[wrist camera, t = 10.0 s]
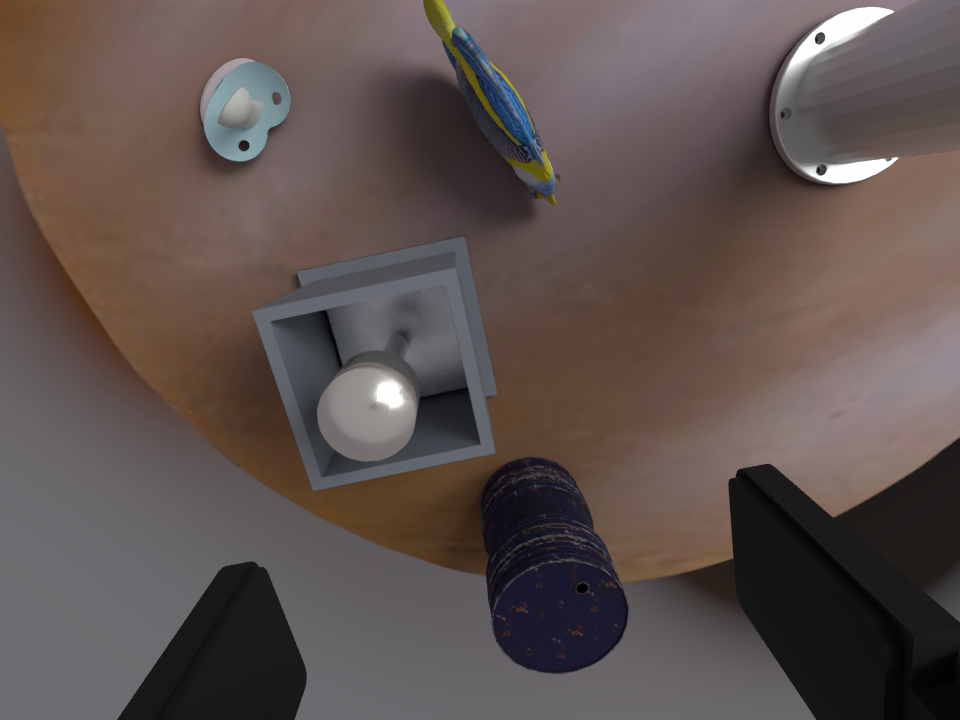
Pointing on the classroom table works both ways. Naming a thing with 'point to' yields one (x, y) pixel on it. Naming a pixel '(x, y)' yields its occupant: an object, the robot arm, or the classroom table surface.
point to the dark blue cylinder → (548, 570)
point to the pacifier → (242, 107)
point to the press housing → (316, 361)
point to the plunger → (388, 370)
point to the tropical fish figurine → (495, 105)
